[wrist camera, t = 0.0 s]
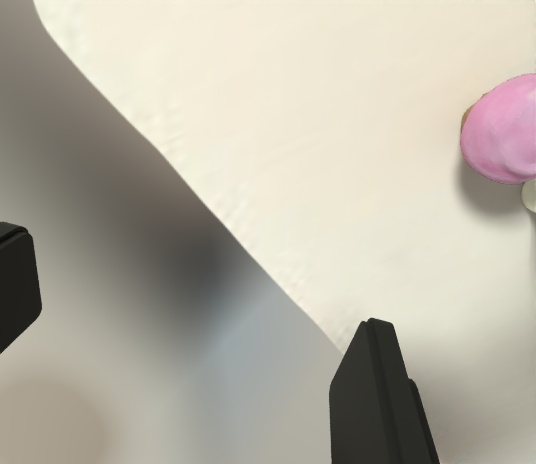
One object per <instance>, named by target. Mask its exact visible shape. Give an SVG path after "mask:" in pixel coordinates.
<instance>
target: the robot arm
mask: <svg viewBox="0 0 536 464" xmlns="http://www.w3.org/2000/svg"><path fill="white" fill-rule="evenodd" d="M41 310H42V303H41V295H40V288H39V280H38V273H37V266H36V259H35V251H34V245H33V238H32V236H31V235H30V234H29V233H28V230H27V229H26V228H24V227H22V226H18V225H14V224H10V223H7V222H0V354H1V353H2V352H3V351H4V350H5V349H6V348H7V347H8V346H9V345H10V344H11V343H12V342H13V341H14V340H15V339H16V338H17V337H18V336H19V335H20V334H21V333H23V332H24V331H25V330H26V329H27V328H28V327H29V326H30V325H31V324H32V323H33V322H34V321H35V320H36V319H37V318H38V316H39V315H40V313H41ZM329 405H330V431H331V458H332V464H440V462H439V459H438V455H437V452H436V449H435V445H434V442H433V439H432V435H431V432H430V429H429V425H428V422H427V419H426V415H425V412H424V408H423V405H422V402H421V398H420V395H419V392H418V389H417V386H416V384H415V382H414V381H413V380H412V379H409V378H408V375H407V372H406V368H405V365H404V361H403V358H402V354H401V350H400V347H399V343H398V340H397V336H396V333H395V329H394V326H393V324H392V323H390V322H386V321H383V320H379V319H375V318H370V319H368V321H367V322H365V321H362V322H361V323H360V325H359V327H358V329H357V331H356V333H355V335H354V337H353V339H352V341H351V343H350V345H349V347H348V349H347V351H346V353H345V355H344V358H343V360H342V362H341V364H340V366H339V368H338V370H337V372H336V374H335V376H334V378H333V380H332V382H331V385H330V391H329Z"/></svg>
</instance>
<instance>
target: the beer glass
mask: <svg viewBox="0 0 536 464" xmlns="http://www.w3.org/2000/svg"><path fill="white" fill-rule="evenodd" d="M521 198H522V201H523V203H524V205H525V206H526V208H528V209H529V210H530V211H532V212H534V213H536V178H535V179H533V180H531V181H528V182H525V183H524V185H523V188H522V192H521Z"/></svg>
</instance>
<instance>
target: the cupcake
mask: <svg viewBox="0 0 536 464" xmlns="http://www.w3.org/2000/svg"><path fill="white" fill-rule="evenodd" d="M460 145H461V149H462V153H463V156H464V158H465V160H466V162H467V163H468V164H469V165H470V166H471V167H472V168H473V169H474V170H475V171H477V172H478V173H480V174H481V175H483V176H485V177H486V178H488V179H490V180H492V181H495V182H499V183H504V184H519V183H524V182H528V181H531V180H533V179H535V178H536V73H532V74H524V75H520V76H517V77H515V78H512V79H510V80H507V81H506V82H504V83H502V84H500V85H499V86H497V87H496V88H494V89H493V90H492V91H490V92H488V93H486V94H483V96H482V97H481V98H480V100H479V101H478V102H477V103H476V104H474V105H472V106H471V107H470V108H469V109H468V110H467V111H466V112H465V113H464V115H463V117H462V133H461V139H460Z"/></svg>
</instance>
